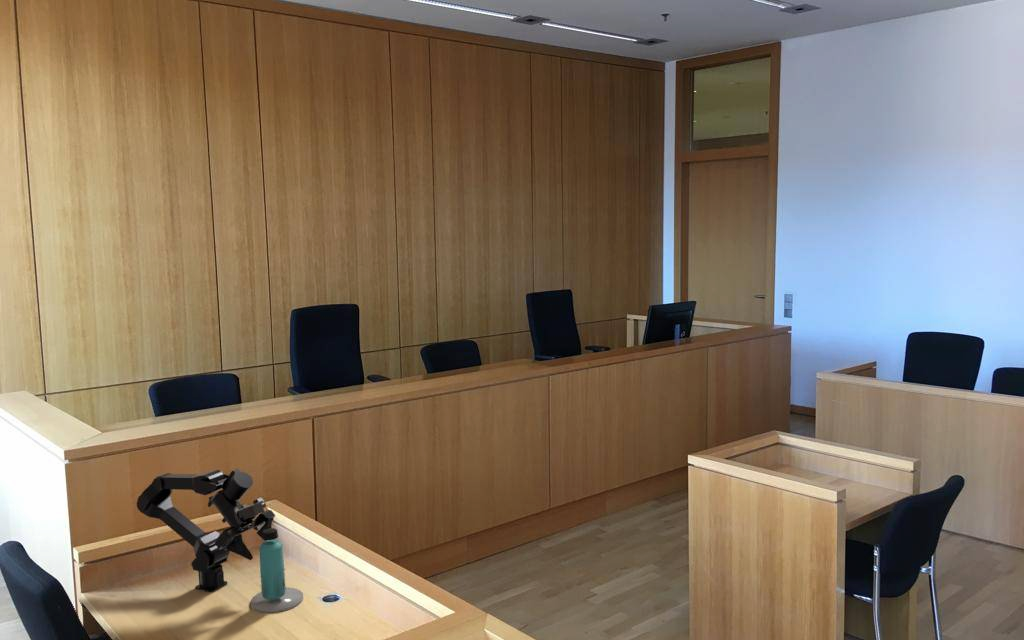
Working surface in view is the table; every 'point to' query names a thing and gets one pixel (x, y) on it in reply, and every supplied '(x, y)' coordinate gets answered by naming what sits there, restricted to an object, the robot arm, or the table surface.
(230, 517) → the robot arm
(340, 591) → the table surface
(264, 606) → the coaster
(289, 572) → the table surface
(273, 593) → the beverage bottle
